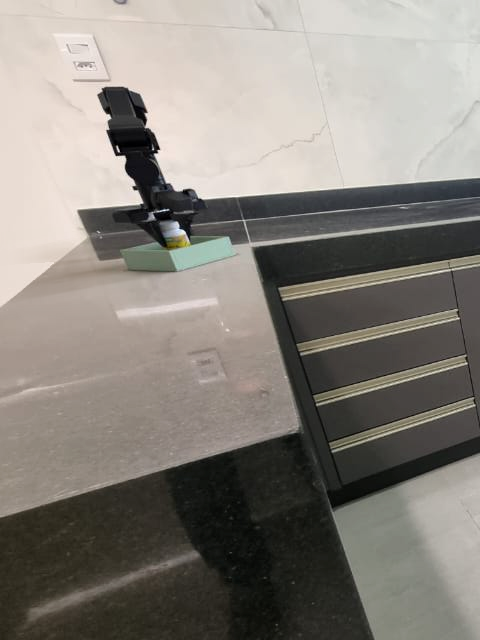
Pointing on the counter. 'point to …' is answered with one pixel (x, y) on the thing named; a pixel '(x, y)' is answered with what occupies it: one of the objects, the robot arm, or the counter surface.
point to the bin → (178, 254)
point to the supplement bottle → (174, 235)
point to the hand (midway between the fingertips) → (176, 244)
